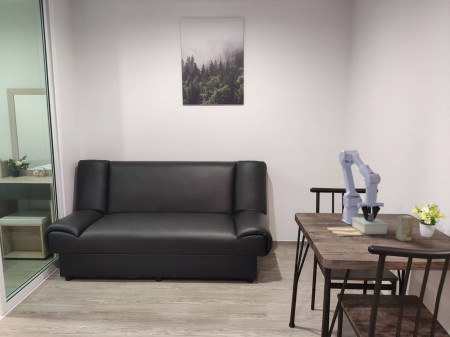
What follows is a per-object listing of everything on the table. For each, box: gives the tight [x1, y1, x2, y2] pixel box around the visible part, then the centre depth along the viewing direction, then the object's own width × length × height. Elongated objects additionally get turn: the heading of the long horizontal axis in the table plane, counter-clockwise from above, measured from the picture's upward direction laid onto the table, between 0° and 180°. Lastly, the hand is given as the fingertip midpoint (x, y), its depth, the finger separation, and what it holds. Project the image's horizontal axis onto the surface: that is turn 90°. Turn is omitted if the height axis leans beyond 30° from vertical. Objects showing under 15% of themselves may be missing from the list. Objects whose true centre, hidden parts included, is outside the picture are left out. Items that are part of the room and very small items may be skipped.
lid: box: [352, 212, 389, 226], centre depth 193 cm, size 14×14×5 cm
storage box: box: [351, 220, 388, 236], centre depth 194 cm, size 13×13×5 cm
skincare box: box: [395, 214, 414, 242], centre depth 179 cm, size 6×4×12 cm
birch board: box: [326, 226, 364, 238], centre depth 191 cm, size 15×14×1 cm
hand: (369, 219), depth 194 cm, fingers closed on lid, 4 cm apart
